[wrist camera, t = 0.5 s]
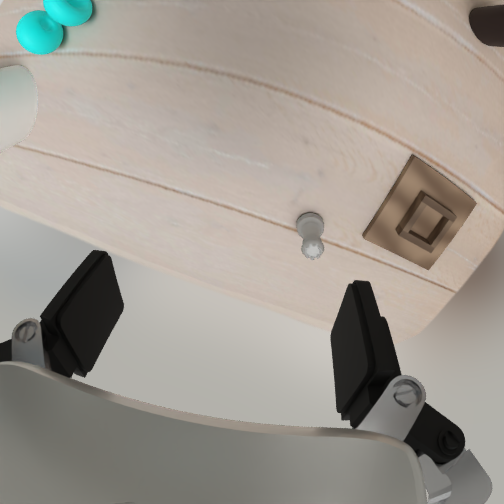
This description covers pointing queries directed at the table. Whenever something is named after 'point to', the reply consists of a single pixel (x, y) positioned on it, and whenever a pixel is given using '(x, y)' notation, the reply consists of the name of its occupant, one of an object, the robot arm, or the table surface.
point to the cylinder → (16, 105)
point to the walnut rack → (419, 215)
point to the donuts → (51, 24)
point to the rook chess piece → (311, 234)
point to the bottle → (489, 24)
